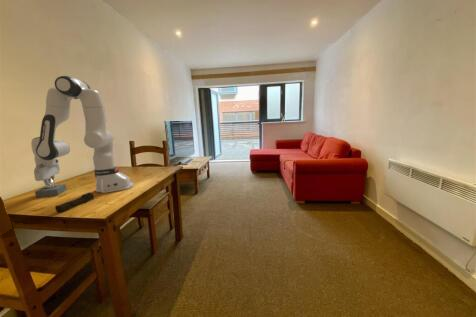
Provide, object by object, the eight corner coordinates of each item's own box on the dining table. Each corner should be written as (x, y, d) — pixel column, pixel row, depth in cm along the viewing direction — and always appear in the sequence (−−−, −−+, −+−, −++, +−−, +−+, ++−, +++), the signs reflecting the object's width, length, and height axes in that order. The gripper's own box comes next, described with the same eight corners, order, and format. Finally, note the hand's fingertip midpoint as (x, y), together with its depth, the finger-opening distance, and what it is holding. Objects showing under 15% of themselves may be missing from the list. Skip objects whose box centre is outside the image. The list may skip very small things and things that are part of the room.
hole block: (66, 189, 138) (65, 184, 137) (58, 195, 128) (56, 189, 127) (46, 191, 135) (45, 186, 134) (36, 197, 125) (34, 191, 124)
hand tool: (61, 213, 101) (59, 205, 101) (55, 212, 103) (53, 204, 102) (97, 199, 119) (96, 191, 118) (92, 198, 120) (91, 191, 119)
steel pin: (56, 192, 133) (53, 177, 131) (53, 194, 130) (50, 179, 128) (50, 193, 132) (47, 178, 130) (48, 194, 130) (44, 179, 128)
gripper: (41, 165, 119) (46, 188, 121) (59, 159, 138) (63, 178, 140) (28, 166, 117) (33, 189, 119) (48, 160, 136) (52, 180, 139)
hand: (50, 183), depth 130 cm, fingers open, 4 cm apart
